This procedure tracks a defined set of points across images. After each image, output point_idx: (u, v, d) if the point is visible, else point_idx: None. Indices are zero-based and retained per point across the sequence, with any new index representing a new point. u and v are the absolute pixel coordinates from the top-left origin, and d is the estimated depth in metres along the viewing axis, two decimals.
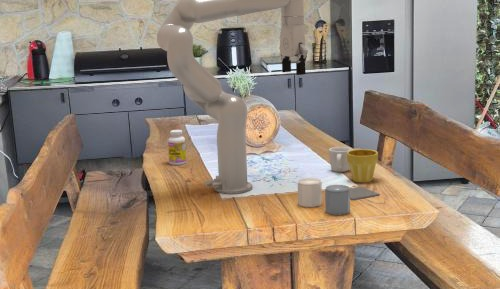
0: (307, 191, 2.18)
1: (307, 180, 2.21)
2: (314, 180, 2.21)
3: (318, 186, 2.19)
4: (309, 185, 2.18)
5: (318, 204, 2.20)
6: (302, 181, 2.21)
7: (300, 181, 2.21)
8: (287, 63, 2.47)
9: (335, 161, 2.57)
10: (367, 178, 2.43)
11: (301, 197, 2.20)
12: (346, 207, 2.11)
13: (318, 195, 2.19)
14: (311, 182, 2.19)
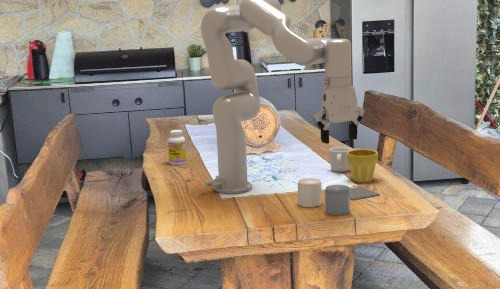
0: (307, 191, 2.18)
1: (307, 180, 2.21)
2: (314, 180, 2.21)
3: (318, 186, 2.19)
4: (309, 185, 2.18)
5: (318, 204, 2.20)
6: (302, 181, 2.21)
7: (300, 181, 2.21)
8: None
9: (335, 161, 2.57)
10: (367, 178, 2.43)
11: (301, 197, 2.20)
12: (346, 207, 2.11)
13: (318, 195, 2.19)
14: (311, 182, 2.19)
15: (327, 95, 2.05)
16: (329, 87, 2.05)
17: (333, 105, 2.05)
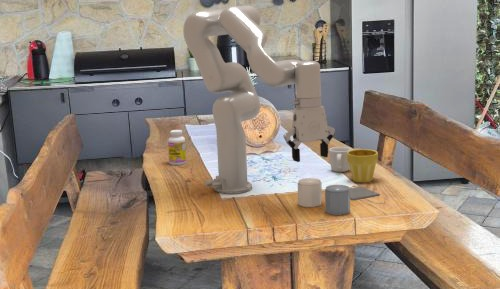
0: (307, 191, 2.18)
1: (307, 180, 2.21)
2: (314, 180, 2.21)
3: (318, 186, 2.19)
4: (309, 185, 2.18)
5: (318, 204, 2.20)
6: (302, 181, 2.21)
7: (300, 181, 2.21)
8: None
9: (335, 161, 2.57)
10: (367, 178, 2.43)
11: (301, 197, 2.20)
12: (346, 207, 2.11)
13: (318, 195, 2.19)
14: (311, 182, 2.19)
15: (297, 115, 2.13)
16: (299, 108, 2.13)
17: (303, 125, 2.13)
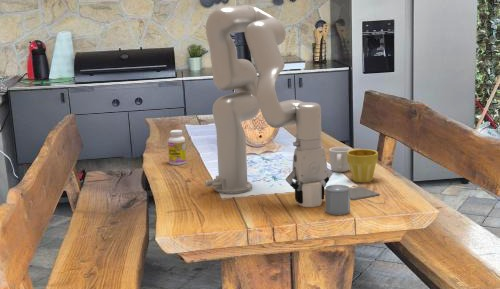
0: (307, 191, 2.18)
1: None
2: None
3: (318, 186, 2.19)
4: (309, 185, 2.18)
5: (318, 204, 2.20)
6: None
7: None
8: None
9: (335, 161, 2.57)
10: (367, 178, 2.43)
11: None
12: (346, 207, 2.11)
13: (318, 195, 2.19)
14: (311, 182, 2.19)
15: (297, 156, 2.16)
16: (299, 149, 2.16)
17: (303, 166, 2.16)
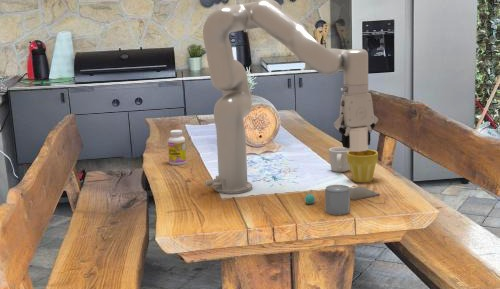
0: (354, 136, 2.23)
1: None
2: (361, 126, 2.26)
3: (365, 131, 2.24)
4: (356, 130, 2.23)
5: (365, 149, 2.25)
6: None
7: None
8: None
9: (335, 161, 2.57)
10: (367, 178, 2.43)
11: None
12: (346, 207, 2.11)
13: (365, 140, 2.24)
14: (358, 127, 2.24)
15: (345, 101, 2.21)
16: (347, 94, 2.21)
17: (351, 111, 2.21)
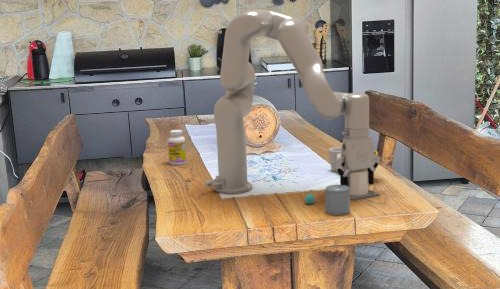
0: (355, 180, 2.26)
1: (354, 170, 2.30)
2: (361, 170, 2.30)
3: (365, 175, 2.27)
4: (357, 174, 2.26)
5: (365, 193, 2.28)
6: (350, 171, 2.29)
7: None
8: None
9: (335, 161, 2.57)
10: None
11: (349, 186, 2.28)
12: (346, 207, 2.11)
13: (365, 184, 2.27)
14: (359, 171, 2.27)
15: (346, 145, 2.24)
16: (348, 137, 2.24)
17: (352, 154, 2.24)
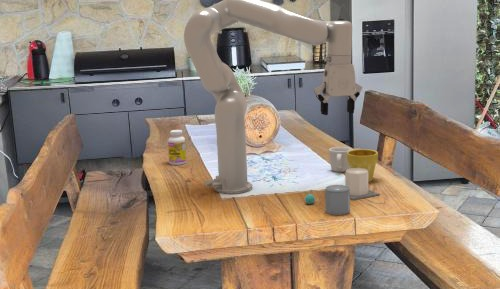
0: (355, 180, 2.26)
1: (354, 170, 2.30)
2: (361, 170, 2.30)
3: (365, 175, 2.27)
4: (357, 174, 2.26)
5: (365, 193, 2.28)
6: (350, 171, 2.29)
7: (348, 171, 2.29)
8: None
9: (335, 161, 2.57)
10: None
11: (349, 186, 2.28)
12: (346, 207, 2.11)
13: (365, 184, 2.27)
14: (359, 171, 2.27)
15: (328, 71, 2.27)
16: (330, 64, 2.27)
17: (333, 80, 2.27)
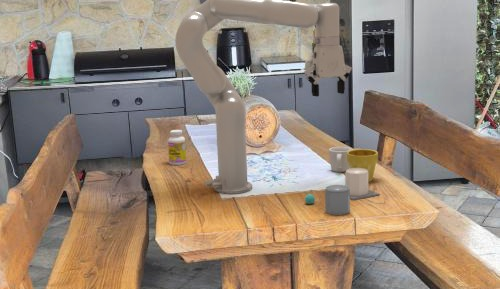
0: (355, 180, 2.26)
1: (354, 170, 2.30)
2: (361, 170, 2.30)
3: (365, 175, 2.27)
4: (357, 174, 2.26)
5: (365, 193, 2.28)
6: (350, 171, 2.29)
7: (348, 171, 2.29)
8: None
9: (335, 161, 2.57)
10: None
11: (349, 186, 2.28)
12: (346, 207, 2.11)
13: (365, 184, 2.27)
14: (359, 171, 2.27)
15: (317, 53, 2.31)
16: (319, 46, 2.31)
17: (322, 62, 2.31)
